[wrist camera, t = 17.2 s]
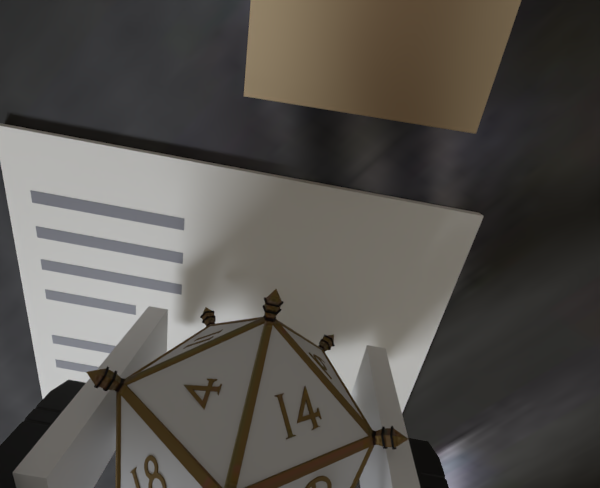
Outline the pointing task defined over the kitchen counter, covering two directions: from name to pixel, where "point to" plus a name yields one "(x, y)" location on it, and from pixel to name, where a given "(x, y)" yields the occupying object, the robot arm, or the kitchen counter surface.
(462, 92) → the maple block
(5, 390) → the kitchen counter surface
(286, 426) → the game die
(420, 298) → the letter
